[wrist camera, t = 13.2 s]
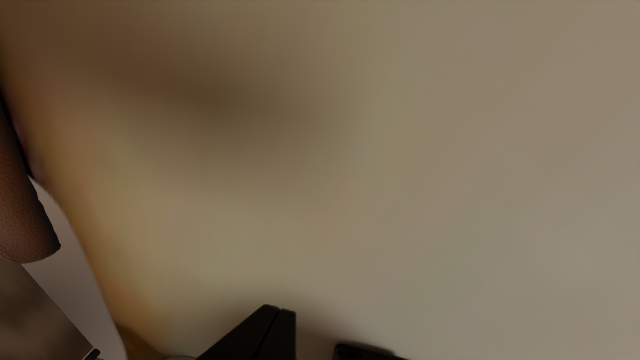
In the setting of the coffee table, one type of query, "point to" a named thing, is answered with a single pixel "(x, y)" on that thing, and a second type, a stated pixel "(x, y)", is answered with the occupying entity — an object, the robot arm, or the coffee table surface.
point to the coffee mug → (180, 358)
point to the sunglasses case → (21, 207)
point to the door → (34, 321)
